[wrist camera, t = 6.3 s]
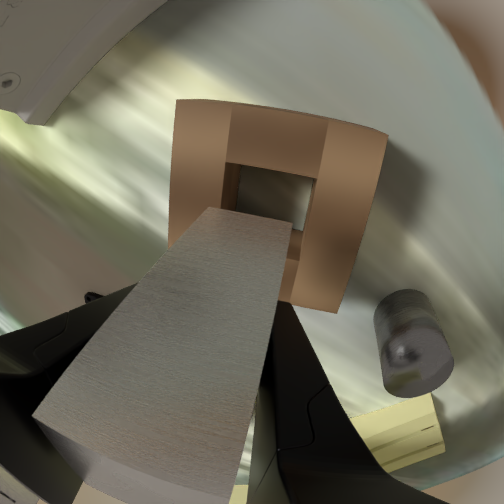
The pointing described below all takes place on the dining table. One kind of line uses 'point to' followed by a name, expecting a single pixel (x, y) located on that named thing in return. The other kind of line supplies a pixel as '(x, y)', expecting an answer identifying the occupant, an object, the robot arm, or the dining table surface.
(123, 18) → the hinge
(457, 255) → the dining table surface
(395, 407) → the slatted curved stool
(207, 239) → the square bit
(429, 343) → the cylinder
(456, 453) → the dining table surface
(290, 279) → the socket block
